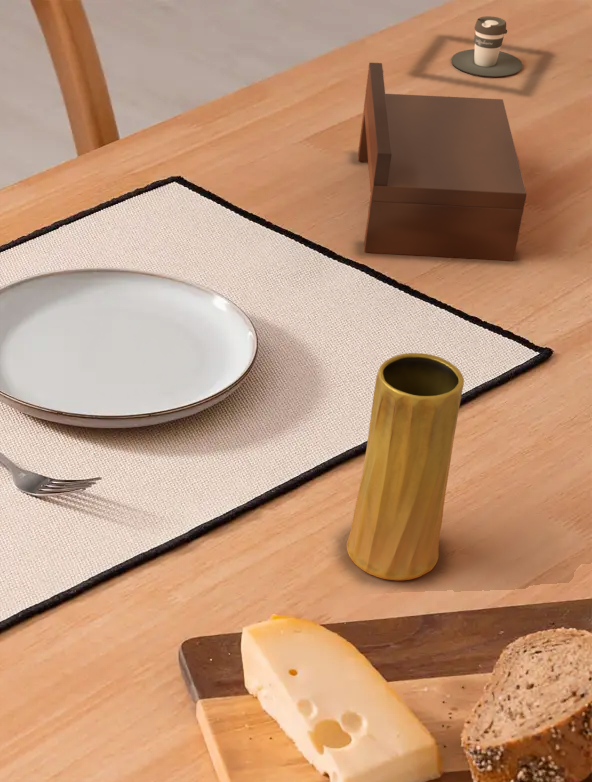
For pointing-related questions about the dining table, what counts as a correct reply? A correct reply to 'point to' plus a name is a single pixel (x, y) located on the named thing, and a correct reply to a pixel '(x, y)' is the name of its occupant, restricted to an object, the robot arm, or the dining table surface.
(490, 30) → the coffee cup
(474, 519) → the dining table surface
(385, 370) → the vase
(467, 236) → the wooden box with backboard
